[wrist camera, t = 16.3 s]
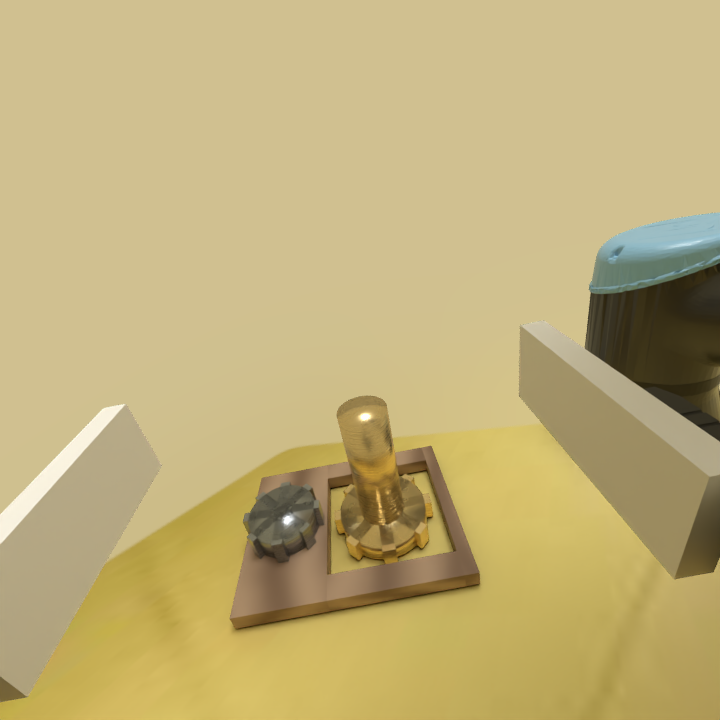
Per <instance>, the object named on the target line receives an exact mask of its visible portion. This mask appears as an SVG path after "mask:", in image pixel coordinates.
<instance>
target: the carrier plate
mask: <svg viewBox="0 0 720 720" xmlns="http://www.w3.org/2000/svg"><path fill="white" fill-rule="evenodd" d="M395 456H396V462H397V468H398V474H399V475H402V474H407V473H412V472H418V471H423V470H427V471H428V474H429V477H430V480H431V483H432V486H433V489H434V492H435V495H436V498H437V501H438V504H439V507H440V510H441V513H442V516H443V519H444V522H445V525H446V528H447V531H448V534H449V537H450V540H451V543H452V546H453V549H454V552H449V553H443V554H438V555H433V556H427V557H422V558H416V559H411V560H406V561H400V562H395V563H389V564H384V565H379V566H373V567H368V568H362V569H357V570H352V571H346V572H341V573H335V574H330V488H333V487H338V486H344V485H349V484H354V482H353V478H352V474H351V470H350V466H349V462H343V463H338V464H333V465H328V466H322V467H317V468H312V469H306V470H301V471H296V472H291V473H285V474H280V475H275V476H270V477H264V478H262V479H261V484H260V488H259V492H258V496H259V495H260V494H261V493H262V492H265V493H266V494H267V493H268V492H270V491H272V490H274V489H276V488H279V487H280V486H281V483H285V482H290V483H291V485H297V486H301V487H303V486H304V485H305V484H308V485H309V486H311V487H312V488H313V491H314V494H315V497H316V500H319V501H320V504H321V507H322V510H323V514H324V525H321V526H319V528H318V531H317V533H316V535H315V540H316V543H315V544H314V545H313V546H312V548H311V549H310V550H308V549H306V548H304V549H302V550H301V551H299V552H298V553H296V554H294V555H291V556H290V557H289V561H288V562H283V563H278V561H277V559H276V558H273V557H269V556H266V555H265V556H264V557H263V558H262V559H260V558H259V557H258V556H257V555H255V553H254V551H253V549H252V547H251V545H250V543H249V541H247V545H246V549H245V554H244V558H243V563H242V567H241V571H240V576H239V580H238V585H237V589H236V593H235V598H234V602H233V606H232V611H231V615H230V620H231V622H232V623H233V625H234V627H235V628H242V627H247V626H253V625H258V624H264V623H269V622H274V621H280V620H285V619H291V618H296V617H302V616H307V615H312V614H318V613H323V612H329V611H334V610H340V609H345V608H350V607H356V606H361V605H367V604H372V603H378V602H383V601H389V600H394V599H399V598H405V597H410V596H416V595H421V594H427V593H432V592H437V591H443V590H448V589H454V588H459V587H465V586H470V585H475V584H480V574H479V570H478V568H477V565H476V562H475V560H474V557H473V554H472V552H471V549H470V546H469V544H468V541H467V539H466V536H465V533H464V531H463V528H462V525H461V523H460V520H459V518H458V515H457V512H456V510H455V507H454V504H453V502H452V499H451V496H450V494H449V491H448V489H447V486H446V483H445V481H444V478H443V475H442V473H441V470H440V467H439V465H438V462H437V460H436V457H435V454H434V452H433V449H432V446H428V447H423V448H417V449H412V450H407V451H401V452H396V453H395ZM256 502H257V501H256Z"/></svg>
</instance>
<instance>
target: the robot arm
mask: <svg viewBox="0 0 720 720" xmlns="http://www.w3.org/2000/svg"><path fill="white" fill-rule="evenodd" d="M589 290H590V292H591V296H590V306H589V315H588V324H587V334H586V342H585V349H584V348H583V347H581V346H580V345H578V344H577V343H576V342H574V341H573V340H571V339H570V338H568V337H567V336H565V335H564V334H563V333H561V332H560V331H558V330H557V329H555V328H554V327H553V326H551V325H550V324H548V323H546V322H545V321H538V322H533V323H528V324H523V325H520V363H519V364H520V365H519V367H520V368H519V397H520V398H521V399H522V400H523V401H524V402H525V404H526V405H527V406H528V407H529V408H530V409H531V411H532V412H533V413H534V414H535V415H536V417H537V418H538V419H539V420H540V421H541V423H542V424H543V425H544V426H545V427H546V428H547V430H548V431H549V432H550V433H551V434H552V436H553V437H554V438H555V439H556V440H557V441H558V443H559V444H560V445H561V446H562V447H563V449H564V450H565V451H566V452H567V453H568V455H569V456H570V457H571V458H572V459H573V460H574V462H575V463H576V464H577V465H578V466H579V468H580V469H581V470H582V471H583V472H584V473H585V475H586V476H587V477H588V478H589V479H590V481H591V482H592V483H593V484H594V485H595V486H596V488H597V489H598V490H599V491H600V492H601V494H602V495H603V496H604V497H605V498H606V499H607V501H608V502H609V503H610V504H611V505H612V507H613V508H614V509H615V510H616V511H617V512H618V514H619V515H620V516H621V517H622V518H623V520H624V521H625V522H626V523H627V524H628V525H629V527H630V528H631V529H632V530H633V531H634V533H635V534H636V535H637V536H638V537H639V538H640V540H641V541H642V542H643V543H644V544H645V546H646V547H647V548H648V549H649V550H650V551H651V553H652V554H653V555H654V556H655V557H656V559H657V560H658V561H659V562H660V563H661V564H662V566H663V567H664V568H665V569H666V570H667V572H668V573H669V574H670V575H671V576H672V577H673V579H678V578H684V577H689V576H695V575H700V574H706V573H711V572H714V570H715V567H716V565H717V562H718V560H719V558H720V391H719V384H720V213H710V214H702V215H694V216H688V217H682V218H676V219H671V220H666V221H661V222H656V223H652V224H648V225H644V226H641V227H638V228H635V229H631V230H628V231H626V232H623V233H620V234H618V235H616V236H614V237H613V238H611V239H610V240H608V241H607V242H606V243H605V244H604V245H603V246H602V247H601V248H600V250H599V252H598V254H597V257H596V262H595V267H594V273H593V279H592V281H591V283H590V285H589ZM161 466H162V465H161V463H160V461H159V460H158V458H157V456H156V454H155V453H154V451H153V449H152V448H151V446H150V444H149V442H148V441H147V439H146V437H145V436H144V434H143V432H142V430H141V429H140V427H139V425H138V424H137V422H136V420H135V418H134V417H133V415H132V413H131V412H130V410H129V408H128V406H127V405H126V404H122V405H118V406H113V407H107V408H103V409H102V410H101V411H100V412H99V413H98V414H97V416H96V417H95V418H94V419H93V420H92V421H91V422H90V423H89V424H88V425H87V426H86V427H85V428H84V429H83V430H82V431H81V432H80V433H79V434H78V435H77V436H76V437H75V438H74V439H73V440H72V441H71V442H70V443H69V444H68V445H67V446H66V447H65V448H64V449H63V451H62V452H61V453H60V454H59V455H58V456H57V457H56V458H55V459H54V460H53V461H52V462H51V463H50V464H49V465H48V466H47V467H46V468H45V469H44V470H43V471H42V472H41V473H40V474H39V475H38V476H37V477H36V478H35V479H34V480H33V481H32V483H31V484H30V485H28V486H27V488H26V489H25V490H24V491H23V492H22V493H21V494H20V495H19V496H18V497H17V498H16V499H15V500H14V501H13V502H12V503H11V504H10V505H9V506H8V507H7V508H6V509H5V510H4V511H3V512H2V513H1V514H0V702H3V701H9V700H14V699H20V698H25V697H28V695H29V694H30V692H31V690H32V689H33V687H34V685H35V683H36V682H37V680H38V678H39V677H40V675H41V673H42V671H43V670H44V668H45V666H46V664H47V663H48V661H49V659H50V658H51V656H52V654H53V652H54V651H55V649H56V647H57V646H58V644H59V642H60V640H61V639H62V637H63V635H64V633H65V632H66V630H67V628H68V627H69V625H70V623H71V621H72V620H73V618H74V616H75V615H76V613H77V611H78V609H79V608H80V606H81V604H82V602H83V601H84V599H85V597H86V596H87V594H88V592H89V590H90V589H91V587H92V585H93V584H94V582H95V580H96V578H97V577H98V575H99V573H100V571H101V570H102V568H103V566H104V565H105V563H106V561H107V559H108V558H109V556H110V554H111V552H112V551H113V549H114V547H115V546H116V544H117V542H118V540H119V539H120V537H121V535H122V534H123V532H124V530H125V528H126V526H127V525H128V523H129V521H130V519H131V518H132V516H133V515H134V513H135V511H136V509H137V508H138V506H139V504H140V503H141V501H142V499H143V497H144V496H145V494H146V492H147V490H148V489H149V487H150V485H151V484H152V482H153V480H154V478H155V477H156V475H157V473H158V472H159V470H160V468H161Z"/></svg>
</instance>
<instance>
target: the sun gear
mask: <svg viewBox="0 0 720 720" xmlns="http://www.w3.org/2000/svg"><path fill="white" fill-rule="evenodd" d="M256 500H257V502H256V504H255V505H254V506H253V508H252V510H251V512H250V513H245V515H244V519H243V523H244V525H245V528H246V530H247V532H248V534H249V535H248V536H247V539H248V541H249V543H250V545H251V547H252V549H253V551H254V553H255V555H257V556H258V557H259V558H260V559H262V558H263V557H264V556H265V555H266V556H269V557H273V558H276V559H277V561H278V563H283V562H288V561H289V557H290V556H291V555H294V554H296V553H298V552H299V551H301V550H302V549H304V548H306V549H308V550H310V549H311V548H312V546H313V545H314V544H315V543H316V540H315V535H316V533H317V531H318V528H319V526H321V525H324V514H323V510H322V507H321V504H320V501H319V500H316V497H315V494H314V491H313V488H312V487H311V486H309V485H308V484H305V485H304V486H303V487H301V486H297V485H291V483H290V482H285V483H281V486H280V487H279V488H276V489H274V490H272V491H270V492H268V493H267V494H266V493H265V492H262V493H261V494H260V495H259V496H257V497H256Z"/></svg>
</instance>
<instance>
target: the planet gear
mask: <svg viewBox="0 0 720 720" xmlns="http://www.w3.org/2000/svg"><path fill="white" fill-rule="evenodd" d="M337 419H338V423H339V427H340V431H341V435H342V439H343V442H344V446H345V450H346V454H347V458H348V462H349V466H350V470H351V474H352V478H353V482H354V485H352V484H350V485H349V486H348V487H347V488H346V489H345V490H344V494H345V499H344V501H343V503H342V506H341V510H336V511H335V523H336V526H337V529H338V533H339V534H341V533H345V535H346V538H347V539H346V543H347V546H348V550H349V553H350V554H351V555H352V556H353V557H355V558H356V559H358V560H360V558H361V557H362V556H363V555H364V556H367V557H370V558H373V559H384V560H385V564H389V563H395V562H398V557H399V556H401V555H404V554H405V553H407V552H409V551H410V550H412V549H413V548H414V547H415V546H416V545H417V546H419V547H420V548H423V547H424V546H425V544H426V543H427V541H428V540H429V535H428V528H427V517H432V516H433V512H432V504H431V500H430V497H429V494H428V493H427V494H422V493H421V491H420V490H419V489H418V487H417V486H415V482H414V478H413V477H411V476H409V475H407V474H404V475H403V476H402V477H399V474H398V468H397V462H396V456H395V451H394V445H393V439H392V434H391V428H390V422H389V416H388V411H387V405H386V403H385V402H384V401H383V400H382V399H380V398H378V397H375V396H360V397H356V398H353V399H351V400H348V401H347V402H345V403H344V404H343V405H341V406H340V408H339V409H338V411H337Z"/></svg>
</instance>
